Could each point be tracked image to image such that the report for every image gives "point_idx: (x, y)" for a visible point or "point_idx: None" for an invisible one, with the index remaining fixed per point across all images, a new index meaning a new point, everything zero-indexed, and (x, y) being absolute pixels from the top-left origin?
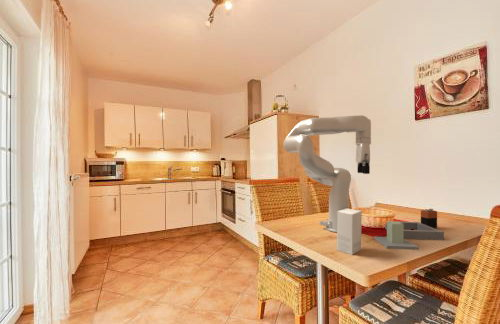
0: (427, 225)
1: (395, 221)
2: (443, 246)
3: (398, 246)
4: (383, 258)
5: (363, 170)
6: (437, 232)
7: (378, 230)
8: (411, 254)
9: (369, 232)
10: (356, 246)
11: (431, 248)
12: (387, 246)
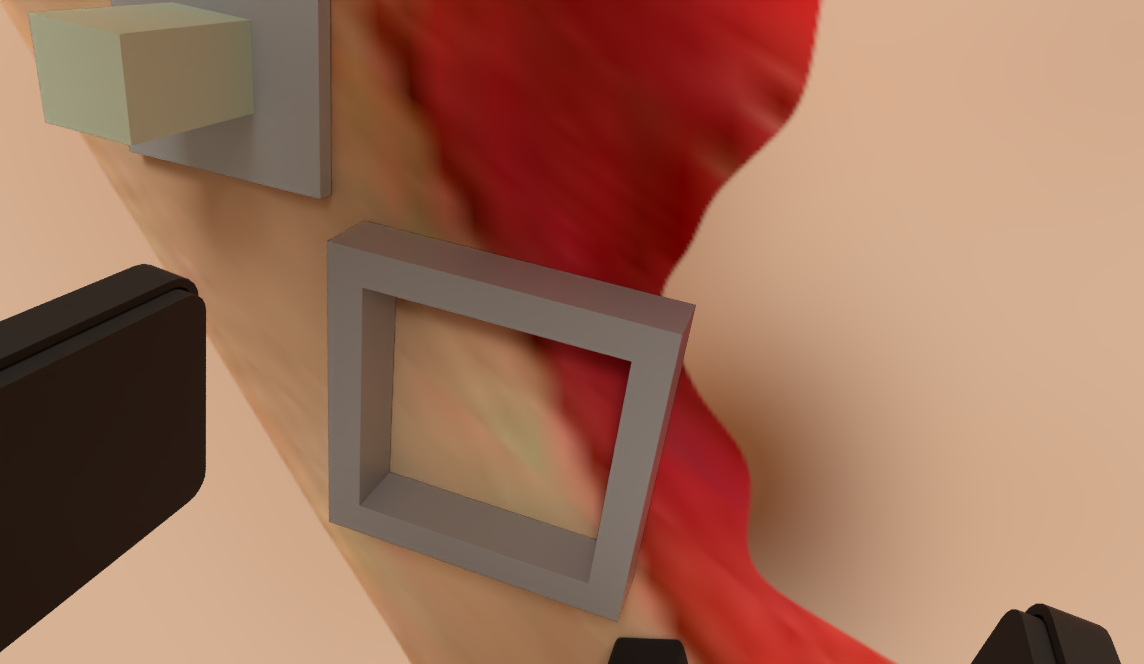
0: (615, 657)
1: (123, 118)
2: (233, 363)
3: (112, 2)
4: None
5: (27, 329)
6: (331, 483)
7: (597, 183)
8: None
9: (527, 30)
10: None
11: (182, 254)
12: None
